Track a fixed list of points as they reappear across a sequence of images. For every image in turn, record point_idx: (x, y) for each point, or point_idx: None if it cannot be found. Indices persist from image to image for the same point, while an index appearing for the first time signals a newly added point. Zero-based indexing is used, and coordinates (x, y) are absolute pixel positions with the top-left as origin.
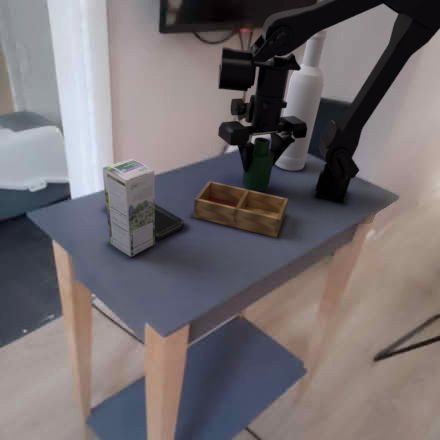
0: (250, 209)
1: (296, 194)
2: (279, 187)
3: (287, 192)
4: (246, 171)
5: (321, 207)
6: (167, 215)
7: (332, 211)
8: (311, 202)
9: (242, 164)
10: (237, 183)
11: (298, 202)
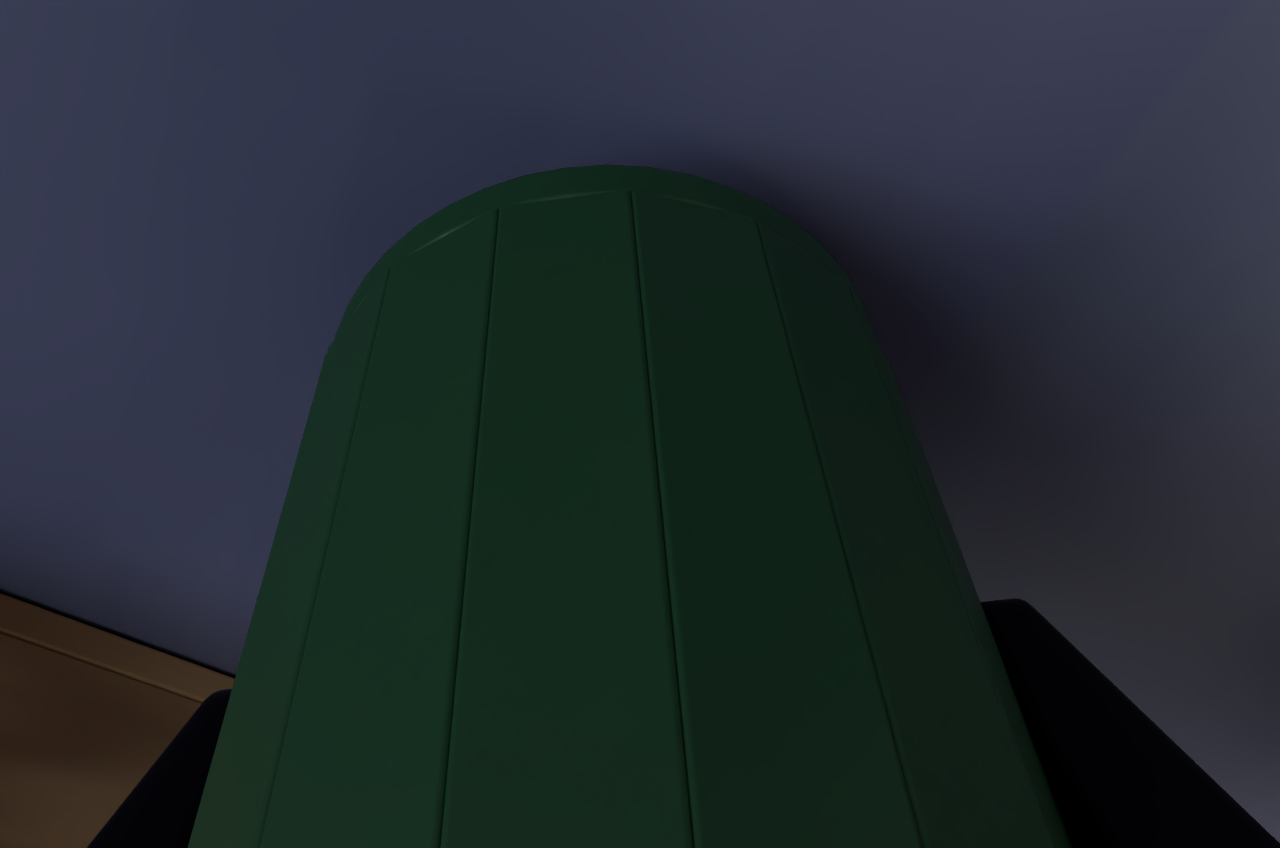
0: None
1: (1209, 539)
2: (1129, 327)
3: (1125, 479)
4: None
5: (1229, 775)
6: None
7: (1266, 828)
8: (1218, 699)
9: (114, 828)
10: (322, 37)
11: None
